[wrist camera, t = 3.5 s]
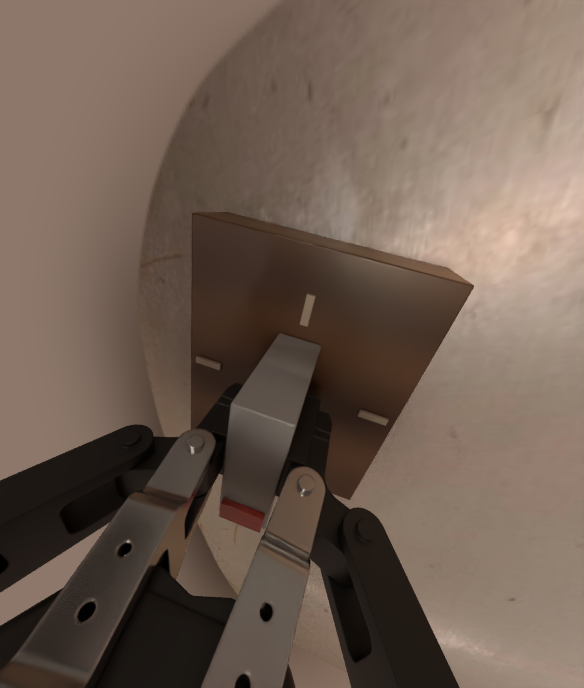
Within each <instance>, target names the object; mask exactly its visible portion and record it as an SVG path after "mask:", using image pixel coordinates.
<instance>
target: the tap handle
mask: <svg viewBox="0 0 584 688" xmlns="http://www.w3.org/2000/svg"><path fill="white" fill-rule="evenodd" d="M320 349H321V346H320V345H318V344H314V343H311V342H308V341H305V340H301V339H298V338H295V337H291V336H288V335H285V334H282V333H279V335H278V336H277V338H276V339H275V340H274V342H273V343H272V345H271V346H270V348H269V349H268V351H267V352H266V353H265V355H264V356H263V358H262V359H261V361H260V362H259V364H258V365H257V367H256V368H255V369H254V371H253V372H252V374H251V375H250V377H249V378H248V380H247V381H246V382H245V384H244V385H243V387H242V388H241V390H240V391H239V393H238V394H237V396H236V397H235V398H234V400H233V401H232V403H231V406H230V415H229V424H228V433H227V442H226V451H225V461H224V470H223V479H222V488H221V497H220V506H219V511H220V514H219V516H220V517H222V518H224V519H227V520H229V521H232V522H234V523H237V524H239V525H242V526H244V527H247V528H249V529H252V530H254V531H257V532H260V530H261V528H263V529H264V528H265V527H266V524H267V521H268V518H269V514H270V511H271V508H272V505H273V501H274V498H275V495H276V491H277V488H278V485H279V481H280V478H281V475H282V472H283V468H284V465H285V462H286V459H287V455H288V452H289V449H290V446H291V442H292V439H293V436H294V433H295V430H296V426H297V423H298V420H299V417H300V414H301V410H302V407H303V404H304V401H305V398H306V395H307V392H308V388H309V385H310V382H311V378H312V375H313V372H314V369H315V365H316V362H317V359H318V356H319V352H320Z"/></svg>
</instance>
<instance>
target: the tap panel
mask: <svg viewBox="0 0 584 688" xmlns="http://www.w3.org/2000/svg"><path fill="white" fill-rule="evenodd" d="M473 288H474V285H472V284H471V283H469V282H468V281H466V280H465V279H463V278H462V277H461V276H459V275H458V274H456V273H455V272H453V271H452V270H450V269H448V268H444V267H440V266H436V265H432V264H428V263H424V262H420V261H416V260H412V259H409V258H405V257H401V256H397V255H393V254H389V253H385V252H381V251H377V250H373V249H369V248H365V247H361V246H357V245H353V244H350V243H346V242H342V241H338V240H334V239H330V238H326V237H322V236H318V235H314V234H310V233H306V232H302V231H298V230H295V229H291V228H287V227H283V226H279V225H275V224H271V223H267V222H263V221H259V220H255V219H251V218H247V217H243V216H240V215H236V214H232V213H228V212H205V213H192V319H191V430H192V429H196V427H197V426H198V425H199V424H200V422H201V421H202V420H203V419H204V417H205V416H206V415H207V413H208V412H209V411H210V409H211V408H212V407H213V406H214V404H215V403H216V402H217V400H218V399H219V398H220V397H221V395H222V394H223V393H224V391H225V390H226V389H227V388H228V387H229V386H231V385H233V384H235V383H239V384H242V385H244V384H245V382H246V381H247V379H248V378H249V377H250V375H251V374H252V372H253V371H254V369H255V368H256V367H257V365H258V364H259V362H260V361H261V359H262V358H263V356H264V355H265V353H266V352H267V351H268V349H269V348H270V346H271V345H272V343H273V342H274V340H275V339H276V338H277V336H278V335H279V333H282V334H285V335H288V336H291V337H295V338H298V339H301V340H305V341H308V342H311V343H314V344H318V345H320V346H321V349H320V352H319V356H318V359H317V362H316V365H315V369H314V372H313V375H312V378H311V382H310V385H309V388H308V392H307V395H310V396H313V397H316V398H319V399H321V403H320V408H319V410H320V411H323V412H325V413H328V414H329V415H330V418H331V421H332V430H331V436H330V442H329V450H328V457H327V463H326V470H325V481H326V484H327V487H328V489H329V491H330V492H331V493H332V494H335V495H337V496H340V497H343V498H345V499H348V500H350V499H351V497H352V495H353V493H354V492H355V490H356V488H357V487H358V485H359V483H360V481H361V480H362V478H363V476H364V475H365V473H366V471H367V469H368V468H369V466H370V464H371V463H372V461H373V459H374V457H375V456H376V454H377V452H378V451H379V449H380V447H381V445H382V444H383V442H384V440H385V439H386V437H387V435H388V433H389V432H390V430H391V428H392V427H393V425H394V423H395V421H396V420H397V418H398V416H399V415H400V413H401V411H402V409H403V408H404V406H405V404H406V403H407V401H408V399H409V397H410V396H411V394H412V392H413V391H414V389H415V387H416V385H417V384H418V382H419V380H420V379H421V377H422V375H423V373H424V372H425V370H426V368H427V367H428V365H429V363H430V361H431V360H432V358H433V356H434V355H435V353H436V351H437V349H438V348H439V346H440V344H441V343H442V341H443V339H444V337H445V336H446V334H447V332H448V331H449V329H450V327H451V325H452V324H453V322H454V320H455V319H456V317H457V315H458V313H459V312H460V310H461V308H462V307H463V305H464V303H465V302H466V300H467V298H468V296H469V295H470V293H471V291H472V290H473Z"/></svg>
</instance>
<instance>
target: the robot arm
mask: <svg viewBox="0 0 584 688" xmlns="http://www.w3.org/2000/svg"><path fill="white" fill-rule="evenodd" d="M247 380H248V379H247ZM242 387H243V385H242V384H239V383H235V384H233V385H231V386H229V387H228V388H227V389H226V390H225V391H224V393H223V394H222V395H221V397H220V398H219V399H218V400H217V402H216V403H215V404H214V406H213V407H212V408H211V409H210V411H209V412H208V413H207V415H206V416H205V417H204V419H203V420H202V421H201V422H200V424H199V425H198V426H197V427H196V429H192V430H189V431H186V432H185V433H183V434H182V435H181V436H180V437H153V432H152V430H151V429H150V428H148V427H147V426H144V425H130V426H126V427H124V428H121V429H119V430H116V431H114V432H112V433H110V434H107V435H105V436H103V437H100V438H98V439H96V440H93V441H91V442H89V443H86V444H84V445H82V446H79V447H77V448H75V449H73V450H70V451H68V452H65V453H63V454H61V455H58V456H56V457H54V458H52V459H49V460H47V461H45V462H42V463H40V464H38V465H35V466H33V467H31V468H28V469H26V470H24V471H21V472H19V473H17V474H14V475H12V476H10V477H8V478H5V479H3V480H1V481H0V592H2V591H3V590H5V589H6V588H8V587H10V586H11V585H13V584H14V583H16V582H17V581H19V580H21V579H22V578H24V577H25V576H27V575H28V574H30V573H31V572H33V571H35V570H36V569H38V568H39V567H41V566H42V565H44V564H45V563H47V562H49V561H50V560H52V559H53V558H55V557H56V556H58V555H60V554H61V553H62V552H64V551H66V550H67V549H69V548H71V547H72V546H74V545H75V544H77V543H78V542H80V541H81V540H83V539H84V538H86V537H88V536H89V535H91V534H92V533H94V532H95V531H97V530H98V529H100V528H102V527H103V526H105V525H106V524H107V523H109V522H110V523H109V525H108V526H107V528H106V529H105V530H104V532H103V533H102V534H101V536H100V537H99V539H98V540H97V542H96V543H95V544H94V546H93V547H92V548H91V550H90V551H89V553H88V554H87V555H86V557H85V559H84V560H83V561H82V562H81V564H80V565H79V567H78V568H77V569H76V571H75V572H74V574H73V575H72V577H71V578H70V580H69V581H68V582H67V584H66V585H65V586H64V588H62V589H61V590H59V591H57V592H56V593H54V594H52V595H51V596H49V597H48V598H46V599H44V600H42V601H41V602H39V603H37V604H36V605H34V606H32V607H31V608H29V609H28V610H26V611H24V612H23V613H21V614H20V615H18V616H16V617H14V618H13V619H11V620H9V621H8V622H6V623H4V624H3V625H1V626H0V688H295V684H294V680H293V676H292V673H291V670H290V667H289V664H288V662H289V657H290V653H291V648H292V644H293V640H294V636H295V631H296V627H297V623H298V618H299V614H300V610H301V606H302V601H303V597H304V593H305V588H306V584H307V580H308V575H309V570H310V559H311V560H312V561H313V562H314V563H315V564H316V565H318V566H319V567H320V569H321V573H322V577H323V581H324V585H325V589H326V592H327V596H328V600H329V604H330V608H331V612H332V615H333V619H334V623H335V627H336V631H337V634H338V638H339V642H340V646H341V650H342V654H343V657H344V661H345V665H346V669H347V673H348V676H349V680H350V684H351V688H459V686H458V684H457V681H456V679H455V677H454V675H453V673H452V671H451V669H450V667H449V665H448V662H447V660H446V658H445V656H444V654H443V652H442V650H441V648H440V645H439V643H438V641H437V639H436V637H435V635H434V633H433V631H432V629H431V626H430V624H429V622H428V620H427V618H426V616H425V614H424V612H423V610H422V607H421V605H420V603H419V601H418V599H417V597H416V595H415V593H414V591H413V588H412V586H411V584H410V582H409V580H408V578H407V576H406V574H405V572H404V569H403V567H402V565H401V563H400V561H399V559H398V557H397V555H396V553H395V550H394V548H393V546H392V544H391V542H390V540H389V538H388V536H387V533H386V531H385V529H384V527H383V525H382V524H381V522H380V521H379V519H378V518H377V517H376V516H375V515H374V514H373V513H371V512H370V511H368V510H366V509H363V508H352V509H349V508H348V507H346V506H345V505H344V504H342V503H341V502H340V501H338V500H337V499H336V498H335V497H334V496H333V495H332V494H331V492H330V491H329V489H328V487H327V484H326V481H325V470H326V463H327V457H328V450H329V442H330V436H331V430H332V421H331V418H330V415H329V414H328V413H325V412H323V411H320V410H319V408H320V403H321V399H319V398H316V397H313V396H310V395H306V398H305V401H304V404H303V407H302V410H301V414H300V417H299V420H298V423H297V426H296V430H295V433H294V436H293V439H292V442H291V446H290V449H289V452H288V455H287V459H286V462H285V465H284V468H283V472H282V475H281V478H280V481H279V485H278V488H277V491H276V496H278V497H279V498H278V501H277V503H276V506H275V508H274V511H273V513H272V515H271V518H270V520H269V523H268V525H267V528H266V530H265V533H264V535H263V536H262V538H261V541H260V543H259V545H258V548H257V550H256V553H255V555H254V558H253V560H252V563H251V565H250V568H249V570H248V572H247V575H246V577H245V580H244V582H243V585H242V587H241V590H240V592H239V595H238V598H237V600H234V599H232V598H221V597H203V596H192V595H190V594H189V593H188V592H187V591H186V590H185V589H184V588H183V587H182V586H181V585H180V584H179V583H178V582H177V581H176V578H177V576H178V573H179V571H180V568H181V565H182V562H183V560H184V556H185V553H186V549H187V546H188V543H189V540H190V538H191V536H192V533H193V531H194V529H195V527H196V524H197V522H198V520H199V518H200V515H201V513H202V511H203V508H204V506H205V504H206V502H207V499H208V497H209V495H210V492H211V490H212V485H213V484H214V482H215V480H216V478H217V476H218V474H221V475H223V470H224V461H225V451H226V442H227V433H228V424H229V415H230V406H231V403H232V401H233V400H234V398H235V397H236V396H237V394H238V393H239V391H240V390H241V388H242ZM124 555H126V556H124ZM123 556H124V557H123Z"/></svg>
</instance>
